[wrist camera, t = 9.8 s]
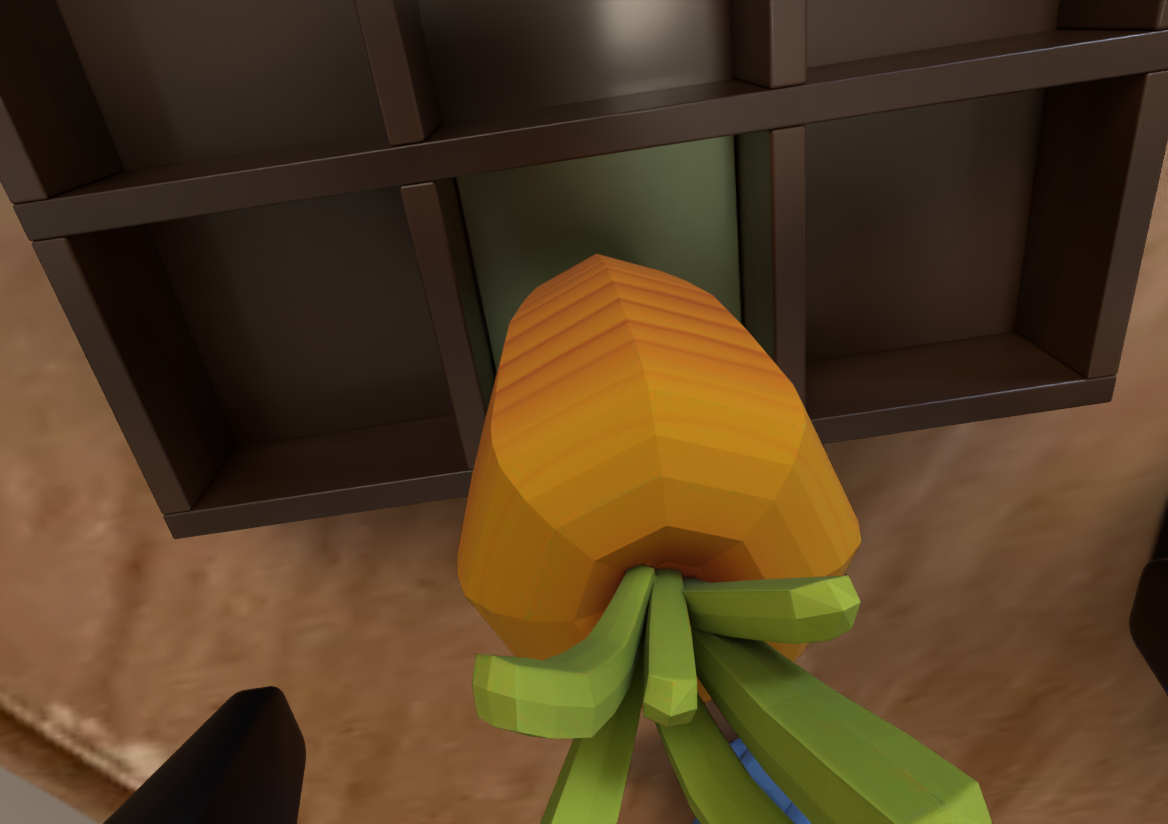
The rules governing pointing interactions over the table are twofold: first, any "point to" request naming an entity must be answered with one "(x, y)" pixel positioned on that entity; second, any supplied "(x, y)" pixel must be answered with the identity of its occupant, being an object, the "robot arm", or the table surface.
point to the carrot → (673, 564)
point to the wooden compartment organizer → (566, 211)
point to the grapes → (766, 784)
